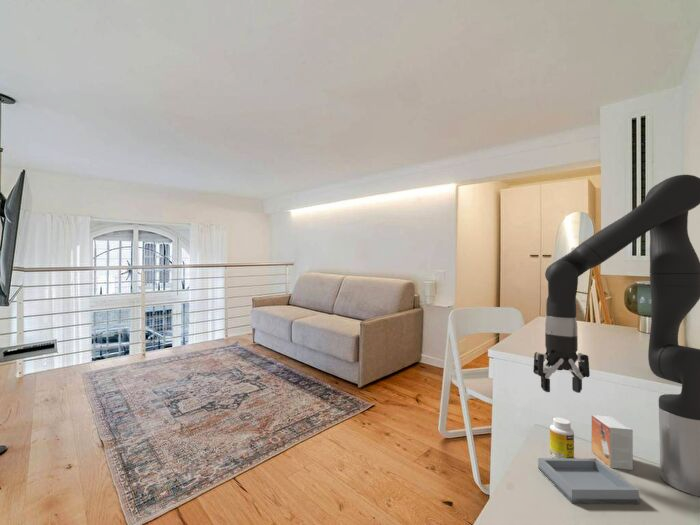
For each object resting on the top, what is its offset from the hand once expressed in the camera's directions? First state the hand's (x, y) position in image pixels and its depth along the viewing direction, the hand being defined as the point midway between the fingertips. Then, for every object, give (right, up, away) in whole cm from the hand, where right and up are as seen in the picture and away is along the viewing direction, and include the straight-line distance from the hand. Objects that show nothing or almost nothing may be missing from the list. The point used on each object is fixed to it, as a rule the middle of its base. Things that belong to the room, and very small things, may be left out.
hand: (561, 391), depth 88 cm
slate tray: (-3, -18, -12) cm, 22 cm away
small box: (+13, -19, -2) cm, 23 cm away
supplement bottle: (0, -18, -1) cm, 18 cm away
